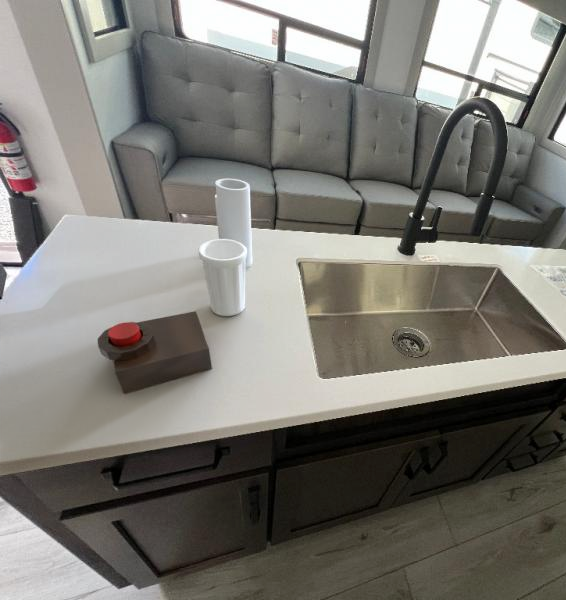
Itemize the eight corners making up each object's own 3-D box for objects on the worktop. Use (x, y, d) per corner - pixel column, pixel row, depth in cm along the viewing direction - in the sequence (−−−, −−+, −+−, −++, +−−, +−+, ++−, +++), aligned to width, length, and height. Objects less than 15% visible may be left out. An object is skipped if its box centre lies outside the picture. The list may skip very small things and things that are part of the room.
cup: (210, 295, 71) (202, 236, 63) (251, 296, 74) (248, 240, 65) (203, 320, 65) (193, 259, 57) (247, 320, 68) (244, 262, 59)
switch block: (113, 397, 49) (99, 366, 45) (109, 351, 55) (96, 320, 51) (212, 368, 57) (207, 340, 53) (199, 331, 63) (194, 303, 59)
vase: (253, 268, 82) (251, 191, 70) (221, 269, 79) (212, 188, 67) (250, 245, 89) (247, 172, 78) (220, 245, 86) (212, 169, 75)
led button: (112, 349, 48) (108, 341, 47) (110, 333, 50) (107, 325, 49) (142, 343, 50) (140, 334, 49) (139, 328, 52) (137, 319, 51)
